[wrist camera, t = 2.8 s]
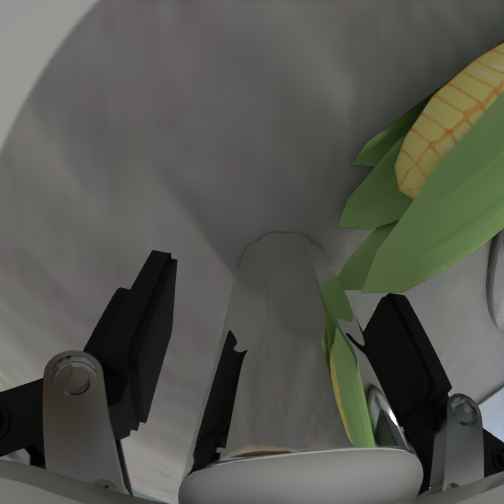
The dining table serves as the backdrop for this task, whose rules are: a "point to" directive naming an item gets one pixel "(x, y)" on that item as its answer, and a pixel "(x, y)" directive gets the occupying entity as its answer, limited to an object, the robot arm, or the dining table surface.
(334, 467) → the milkshake
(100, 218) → the dining table surface
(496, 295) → the collar
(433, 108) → the edible corn
